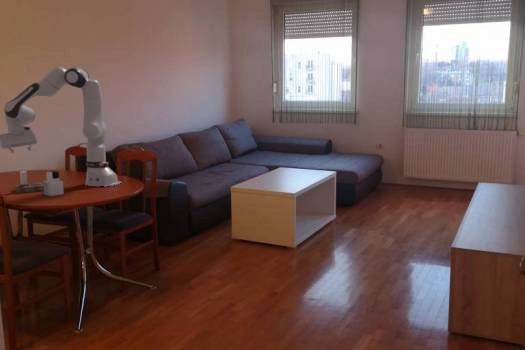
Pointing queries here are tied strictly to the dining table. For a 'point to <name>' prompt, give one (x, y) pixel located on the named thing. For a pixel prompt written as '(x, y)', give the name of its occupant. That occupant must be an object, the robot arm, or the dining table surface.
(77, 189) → the dining table surface
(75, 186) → the dining table surface
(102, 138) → the robot arm
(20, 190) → the mixing board
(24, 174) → the fader
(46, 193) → the container
